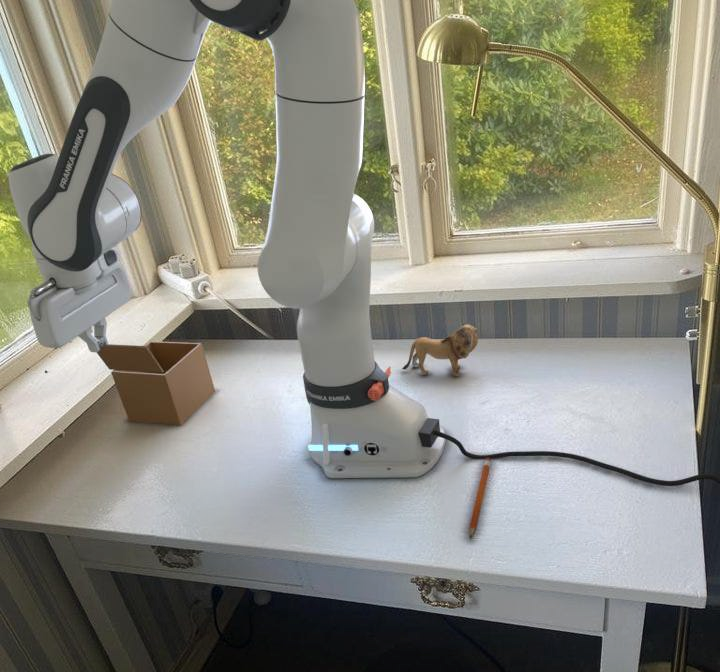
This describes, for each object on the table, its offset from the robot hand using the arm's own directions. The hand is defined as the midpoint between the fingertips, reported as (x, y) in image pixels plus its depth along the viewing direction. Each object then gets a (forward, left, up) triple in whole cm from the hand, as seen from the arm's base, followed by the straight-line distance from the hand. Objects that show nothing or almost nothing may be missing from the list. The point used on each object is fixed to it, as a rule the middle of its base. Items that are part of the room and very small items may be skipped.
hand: (99, 348), depth 121 cm
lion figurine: (-49, -33, -19) cm, 62 cm away
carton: (0, -13, -19) cm, 23 cm away
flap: (0, -6, -4) cm, 7 cm away
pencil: (-65, +5, -19) cm, 68 cm away
